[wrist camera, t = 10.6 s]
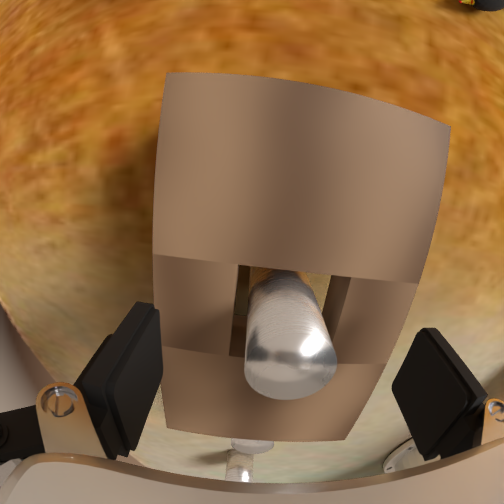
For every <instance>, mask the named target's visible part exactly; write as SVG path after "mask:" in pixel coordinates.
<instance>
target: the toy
mask: <svg viewBox="0 0 504 504" xmlns="http://www.w3.org/2000/svg"><path fill="white" fill-rule="evenodd" d="M462 2H464V3H465V4H470V5H471V6H472V7H474V8H476V9H479V10H482V11H497V10H501V9H502V8H504V0H463V1H459V3H462Z"/></svg>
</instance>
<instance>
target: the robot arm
mask: <svg viewBox="0 0 504 504" xmlns="http://www.w3.org/2000/svg"><path fill="white" fill-rule="evenodd" d="M162 376H163V357H162V344H161V328H160V312H159V310H158V309H155V307H154V305H153V304H149V303H143V302H136V303H135V305H134V306H133V307H132V309H131V310H130V312H129V313H128V314H127V316H126V317H125V318H124V320H123V321H122V323H121V324H120V325H119V327H118V328H117V330H116V331H115V333H114V334H110V335H108V336H107V337H106V338H105V340H104V341H103V343H102V344H101V345H100V347H99V348H98V350H97V351H96V353H95V354H94V355H93V357H92V358H91V360H90V361H89V363H88V364H87V366H86V367H85V368H84V370H83V371H82V373H81V374H80V376H79V377H78V379H77V380H76V382H75V383H74V385H71V384H69V383H64V382H57V383H53V384H49V385H47V386H46V387H44V388H43V389H42V390H41V391H40V392H39V393H38V395H37V398H36V405H33V406H30V407H25V408H21V409H16V410H12V411H8V412H3V413H0V504H504V401H502V400H500V399H496V398H493V399H490V400H488V401H487V402H486V404H485V405H484V404H483V403H482V402H483V401H484V400H485V398H486V397H487V395H488V394H487V393H486V392H485V390H484V389H483V387H482V386H481V385H480V383H479V382H478V381H477V379H476V378H475V376H474V375H473V374H472V372H471V371H470V370H469V368H468V367H467V366H466V365H465V363H464V362H463V361H462V359H461V358H460V357H459V356H458V354H457V353H456V352H455V350H454V349H453V348H452V347H451V345H450V344H449V343H448V342H447V340H446V339H445V338H444V337H443V336H442V334H441V333H440V332H439V331H438V330H437V329H436V328H422V329H421V330H420V332H418V333H417V334H416V336H415V338H414V341H413V343H412V345H411V347H410V349H409V351H408V354H407V356H406V358H405V360H404V362H403V364H402V366H401V368H400V370H399V372H398V374H397V376H396V377H395V379H394V381H393V383H392V392H393V394H394V397H395V399H396V401H397V403H398V405H399V408H400V410H401V412H402V414H403V417H404V419H405V421H406V423H407V426H408V428H409V430H410V433H411V435H412V439H411V440H409V441H407V442H406V443H404V444H403V445H401V446H400V447H399V448H397V449H396V450H395V451H394V452H392V453H391V454H390V455H389V456H388V457H387V459H386V460H385V461H384V464H383V469H384V472H385V473H386V474H381V475H375V476H369V477H363V478H356V479H348V480H339V481H329V482H315V483H285V484H277V483H248V482H234V481H224V480H215V479H207V478H200V477H193V476H186V475H180V474H175V473H170V472H165V471H160V470H155V469H151V468H147V467H142V466H137V465H133V464H128V463H124V462H120V461H116V458H117V455H121V456H124V457H128V455H129V452H130V450H133V451H134V450H135V449H136V447H137V445H138V442H139V439H140V436H141V433H142V431H143V428H144V425H145V422H146V420H147V417H148V414H149V411H150V409H151V406H152V403H153V401H154V398H155V395H156V393H157V390H158V387H159V385H160V382H161V379H162Z"/></svg>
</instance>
